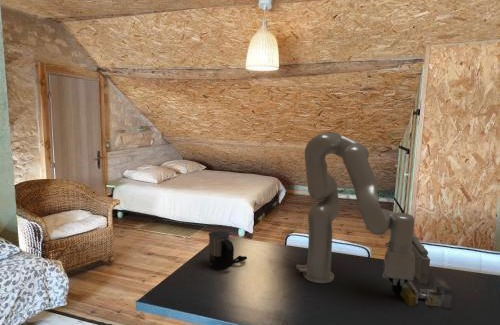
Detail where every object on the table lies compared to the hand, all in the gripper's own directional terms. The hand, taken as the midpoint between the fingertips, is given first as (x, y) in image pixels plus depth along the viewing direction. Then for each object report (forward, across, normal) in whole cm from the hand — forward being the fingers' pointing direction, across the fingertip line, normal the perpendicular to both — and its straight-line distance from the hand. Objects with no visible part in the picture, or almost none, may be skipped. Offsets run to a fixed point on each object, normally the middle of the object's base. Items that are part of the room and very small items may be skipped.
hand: (396, 293), depth 124 cm
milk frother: (+2, -68, +15) cm, 69 cm away
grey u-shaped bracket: (+1, +14, 0) cm, 14 cm away
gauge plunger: (+1, +11, -1) cm, 11 cm away
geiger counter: (+2, +14, +25) cm, 29 cm away
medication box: (+2, +3, +1) cm, 4 cm away
